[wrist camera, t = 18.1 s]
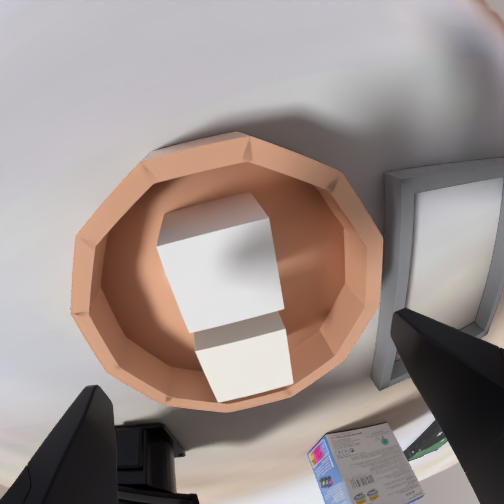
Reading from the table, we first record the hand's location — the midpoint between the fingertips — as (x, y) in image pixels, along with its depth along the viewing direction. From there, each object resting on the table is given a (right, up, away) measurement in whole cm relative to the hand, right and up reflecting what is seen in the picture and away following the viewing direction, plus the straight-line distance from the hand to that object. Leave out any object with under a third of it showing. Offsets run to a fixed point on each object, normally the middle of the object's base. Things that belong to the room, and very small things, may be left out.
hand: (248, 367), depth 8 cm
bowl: (-1, +2, +10) cm, 10 cm away
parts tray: (+17, +1, +14) cm, 22 cm away
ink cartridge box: (+12, -20, +23) cm, 33 cm away
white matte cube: (-1, -1, +10) cm, 11 cm away
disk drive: (+33, -27, +32) cm, 53 cm away
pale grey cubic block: (-2, +4, +8) cm, 9 cm away
